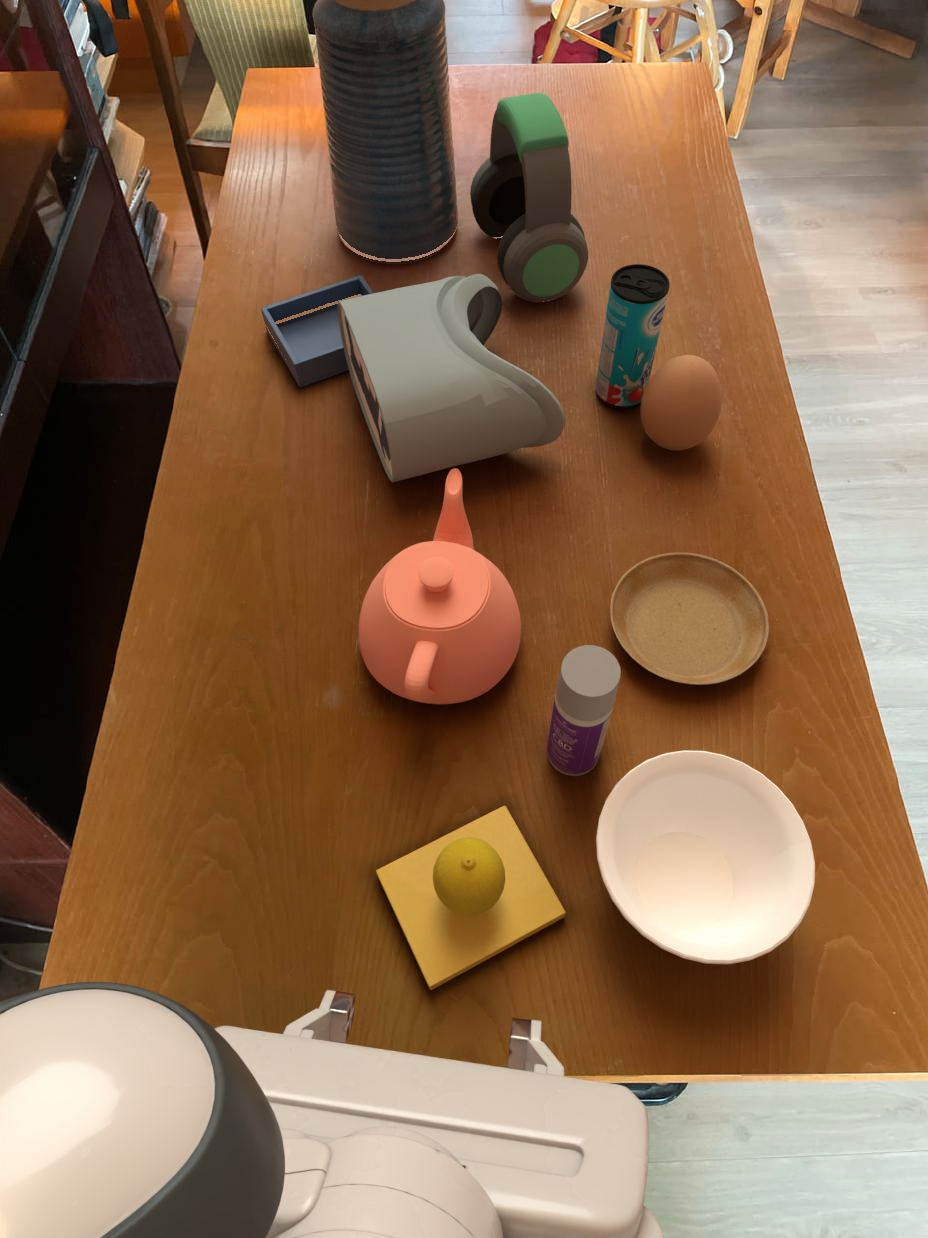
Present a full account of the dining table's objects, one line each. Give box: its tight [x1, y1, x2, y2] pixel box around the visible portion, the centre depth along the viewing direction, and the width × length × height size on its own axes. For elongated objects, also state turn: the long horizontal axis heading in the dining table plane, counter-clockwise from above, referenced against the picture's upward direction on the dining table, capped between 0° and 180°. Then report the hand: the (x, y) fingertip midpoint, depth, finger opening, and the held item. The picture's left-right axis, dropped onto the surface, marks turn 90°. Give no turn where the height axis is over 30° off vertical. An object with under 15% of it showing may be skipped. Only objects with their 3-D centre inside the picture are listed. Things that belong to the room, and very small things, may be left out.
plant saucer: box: [609, 552, 770, 686], centre depth 83 cm, size 15×15×3 cm
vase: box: [312, 0, 459, 265], centre depth 105 cm, size 16×16×32 cm
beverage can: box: [594, 263, 671, 410], centre depth 95 cm, size 6×6×15 cm
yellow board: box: [375, 805, 566, 991], centre depth 71 cm, size 12×10×2 cm
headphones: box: [469, 92, 589, 303], centre depth 106 cm, size 19×11×20 cm, turn 15°
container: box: [546, 644, 622, 777], centre depth 72 cm, size 5×5×15 cm
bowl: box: [595, 750, 816, 965], centre depth 68 cm, size 16×16×8 cm
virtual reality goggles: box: [337, 273, 566, 483], centre depth 95 cm, size 22×19×13 cm
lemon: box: [433, 838, 505, 916], centre depth 67 cm, size 6×6×8 cm
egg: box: [640, 354, 723, 451], centre depth 93 cm, size 8×8×11 cm
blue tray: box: [260, 274, 375, 388], centre depth 106 cm, size 13×11×4 cm
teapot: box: [357, 467, 522, 705], centre depth 79 cm, size 22×15×12 cm
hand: (432, 1016), depth 44 cm, fingers open, 8 cm apart
